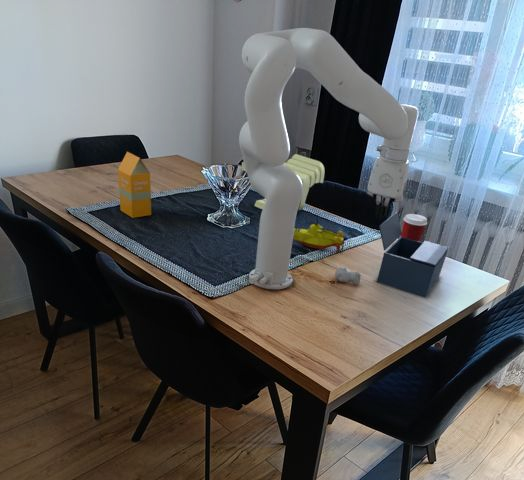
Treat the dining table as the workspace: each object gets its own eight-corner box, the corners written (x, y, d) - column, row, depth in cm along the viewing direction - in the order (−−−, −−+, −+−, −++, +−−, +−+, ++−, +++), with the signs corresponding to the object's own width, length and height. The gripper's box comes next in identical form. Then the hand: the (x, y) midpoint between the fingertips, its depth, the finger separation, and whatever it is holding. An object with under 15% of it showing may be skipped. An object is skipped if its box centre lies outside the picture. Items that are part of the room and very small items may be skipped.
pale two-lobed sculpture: (330, 282, 149) (341, 273, 151) (352, 291, 144) (363, 282, 147) (330, 270, 146) (341, 261, 148) (352, 280, 141) (363, 270, 144)
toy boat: (341, 255, 163) (347, 226, 158) (288, 246, 166) (292, 217, 160) (343, 248, 169) (349, 220, 163) (291, 239, 171) (295, 211, 165)
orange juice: (132, 218, 173) (129, 158, 162) (120, 210, 178) (116, 152, 167) (151, 214, 177) (150, 156, 166) (139, 207, 183) (137, 150, 171)
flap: (380, 225, 141) (379, 225, 141) (385, 250, 144) (383, 250, 144) (397, 211, 154) (396, 211, 154) (401, 234, 156) (400, 234, 156)
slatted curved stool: (268, 222, 183) (273, 173, 173) (238, 209, 191) (242, 161, 181) (318, 208, 202) (326, 163, 192) (289, 197, 210) (295, 153, 200)
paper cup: (420, 258, 168) (432, 218, 160) (409, 264, 163) (421, 223, 155) (400, 250, 172) (411, 211, 164) (389, 256, 167) (399, 215, 160)
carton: (425, 297, 144) (435, 265, 138) (376, 282, 149) (384, 250, 144) (438, 277, 157) (448, 247, 151) (393, 264, 162) (401, 234, 156)
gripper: (364, 150, 138) (352, 214, 149) (417, 161, 133) (400, 227, 143) (373, 146, 144) (360, 208, 154) (424, 157, 138) (407, 220, 149)
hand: (379, 217), depth 149 cm, fingers closed
